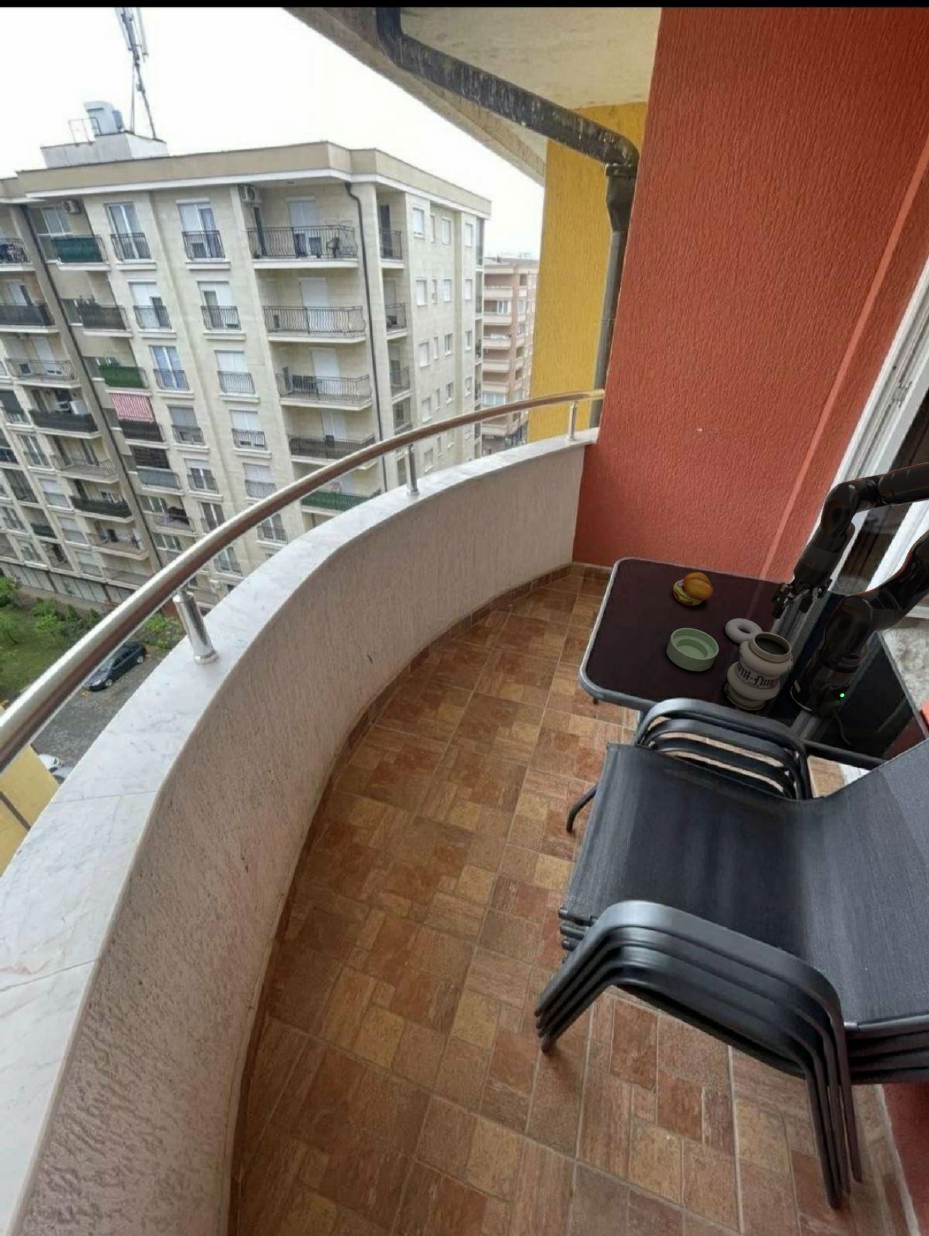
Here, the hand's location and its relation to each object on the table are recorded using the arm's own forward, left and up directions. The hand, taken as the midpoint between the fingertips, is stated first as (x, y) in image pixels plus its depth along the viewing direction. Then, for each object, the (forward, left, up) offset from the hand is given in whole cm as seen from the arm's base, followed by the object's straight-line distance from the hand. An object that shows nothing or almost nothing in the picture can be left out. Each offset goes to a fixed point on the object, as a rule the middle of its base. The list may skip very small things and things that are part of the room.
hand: (788, 614), depth 137 cm
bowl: (+8, +18, -17) cm, 26 cm away
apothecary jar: (-8, +13, -17) cm, 23 cm away
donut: (+11, -2, -17) cm, 21 cm away
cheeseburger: (+30, +2, -17) cm, 35 cm away
